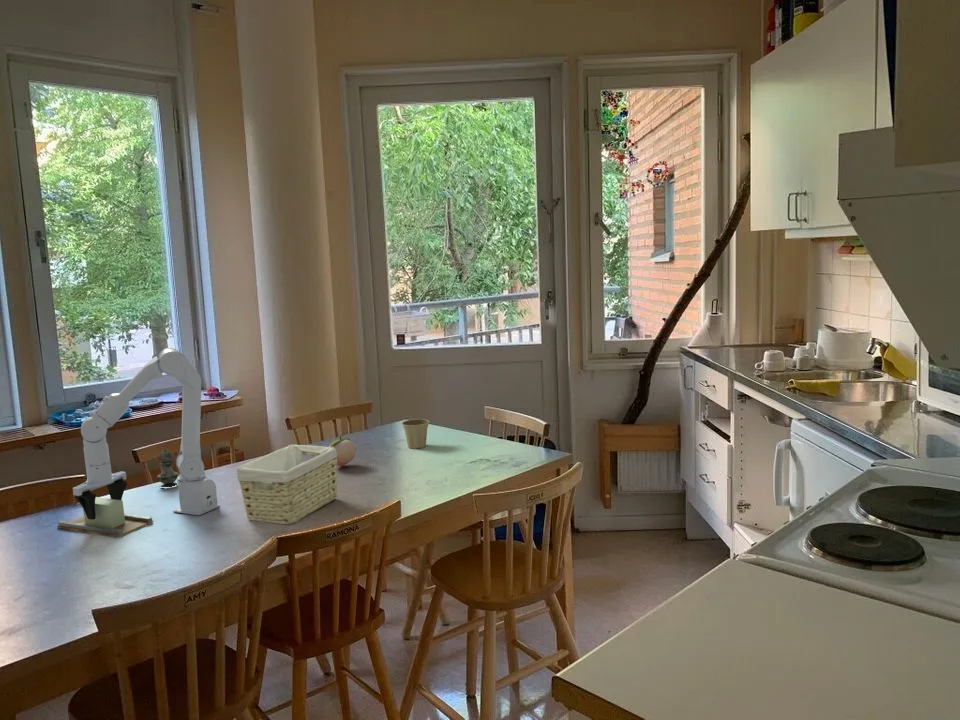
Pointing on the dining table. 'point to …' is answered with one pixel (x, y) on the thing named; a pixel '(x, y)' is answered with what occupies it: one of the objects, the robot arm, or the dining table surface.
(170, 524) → the dining table surface
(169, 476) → the grey tall carved piece
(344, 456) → the decorative fruit
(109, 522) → the pale green block
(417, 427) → the flower pot
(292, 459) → the storage basket
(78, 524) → the floor track
